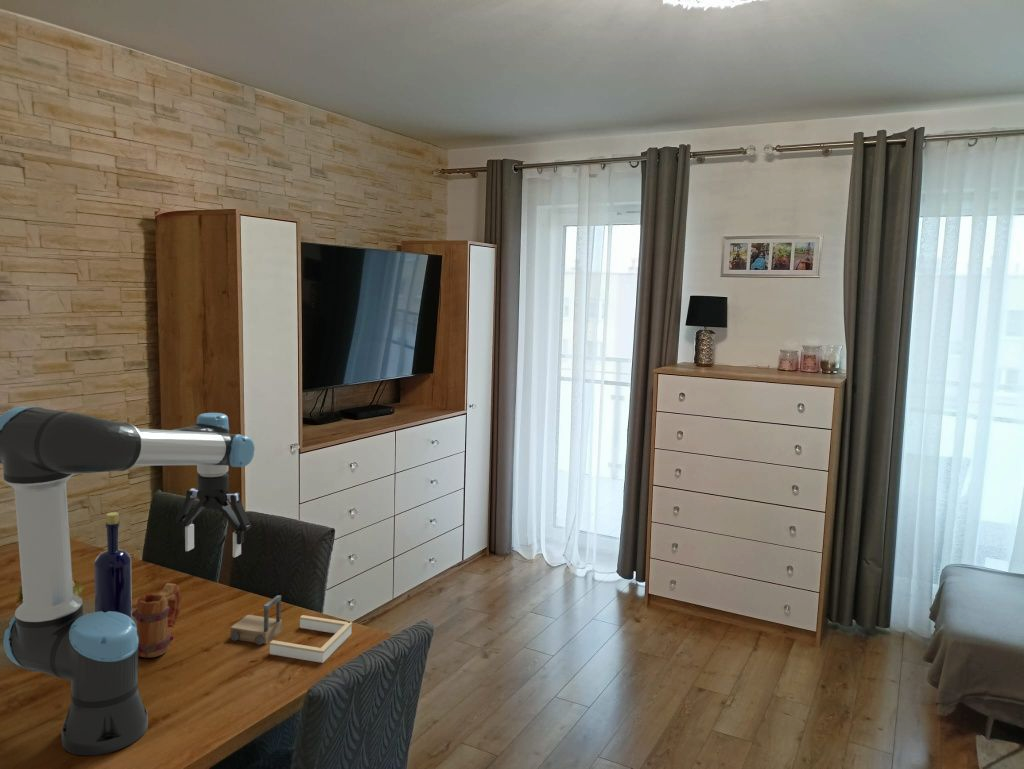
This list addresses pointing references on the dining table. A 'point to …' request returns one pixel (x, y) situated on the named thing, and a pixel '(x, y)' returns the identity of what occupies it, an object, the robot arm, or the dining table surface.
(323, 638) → the dining table surface
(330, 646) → the bay
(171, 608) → the mug
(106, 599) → the bottle
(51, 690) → the dining table surface
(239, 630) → the trolley
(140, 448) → the robot arm
